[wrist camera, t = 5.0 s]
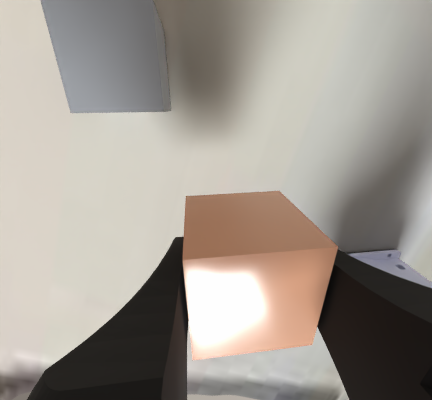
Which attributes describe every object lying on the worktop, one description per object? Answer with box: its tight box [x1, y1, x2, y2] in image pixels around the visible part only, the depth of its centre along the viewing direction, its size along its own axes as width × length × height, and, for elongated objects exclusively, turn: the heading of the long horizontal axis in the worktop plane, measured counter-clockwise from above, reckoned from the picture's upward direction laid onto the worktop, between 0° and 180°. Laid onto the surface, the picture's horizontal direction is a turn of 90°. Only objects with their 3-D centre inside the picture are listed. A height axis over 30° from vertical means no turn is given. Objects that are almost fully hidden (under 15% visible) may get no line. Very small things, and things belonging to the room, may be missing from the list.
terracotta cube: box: [183, 191, 338, 360], centre depth 10 cm, size 5×5×5 cm
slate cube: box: [41, 0, 171, 113], centre depth 13 cm, size 5×5×5 cm
